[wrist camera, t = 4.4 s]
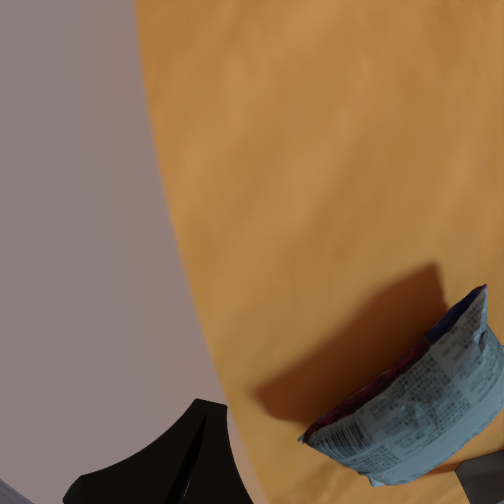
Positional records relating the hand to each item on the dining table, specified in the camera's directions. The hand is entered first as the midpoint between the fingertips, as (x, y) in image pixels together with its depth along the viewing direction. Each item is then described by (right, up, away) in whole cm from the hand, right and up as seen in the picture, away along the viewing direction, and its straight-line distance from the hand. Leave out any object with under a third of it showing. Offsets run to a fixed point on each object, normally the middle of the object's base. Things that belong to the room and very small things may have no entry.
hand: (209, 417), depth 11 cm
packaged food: (+11, -1, +3) cm, 12 cm away
